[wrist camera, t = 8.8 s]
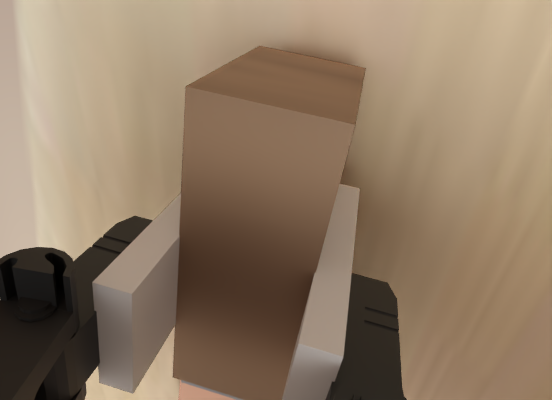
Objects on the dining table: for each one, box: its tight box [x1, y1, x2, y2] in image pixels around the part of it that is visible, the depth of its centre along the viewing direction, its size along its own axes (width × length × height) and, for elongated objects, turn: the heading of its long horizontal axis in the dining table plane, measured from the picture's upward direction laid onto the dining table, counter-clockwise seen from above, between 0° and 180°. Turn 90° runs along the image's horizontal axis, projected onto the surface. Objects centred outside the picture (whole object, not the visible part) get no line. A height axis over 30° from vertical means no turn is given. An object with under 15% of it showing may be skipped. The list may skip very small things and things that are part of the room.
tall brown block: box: [173, 46, 366, 400], centre depth 13 cm, size 15×6×5 cm, turn 170°
